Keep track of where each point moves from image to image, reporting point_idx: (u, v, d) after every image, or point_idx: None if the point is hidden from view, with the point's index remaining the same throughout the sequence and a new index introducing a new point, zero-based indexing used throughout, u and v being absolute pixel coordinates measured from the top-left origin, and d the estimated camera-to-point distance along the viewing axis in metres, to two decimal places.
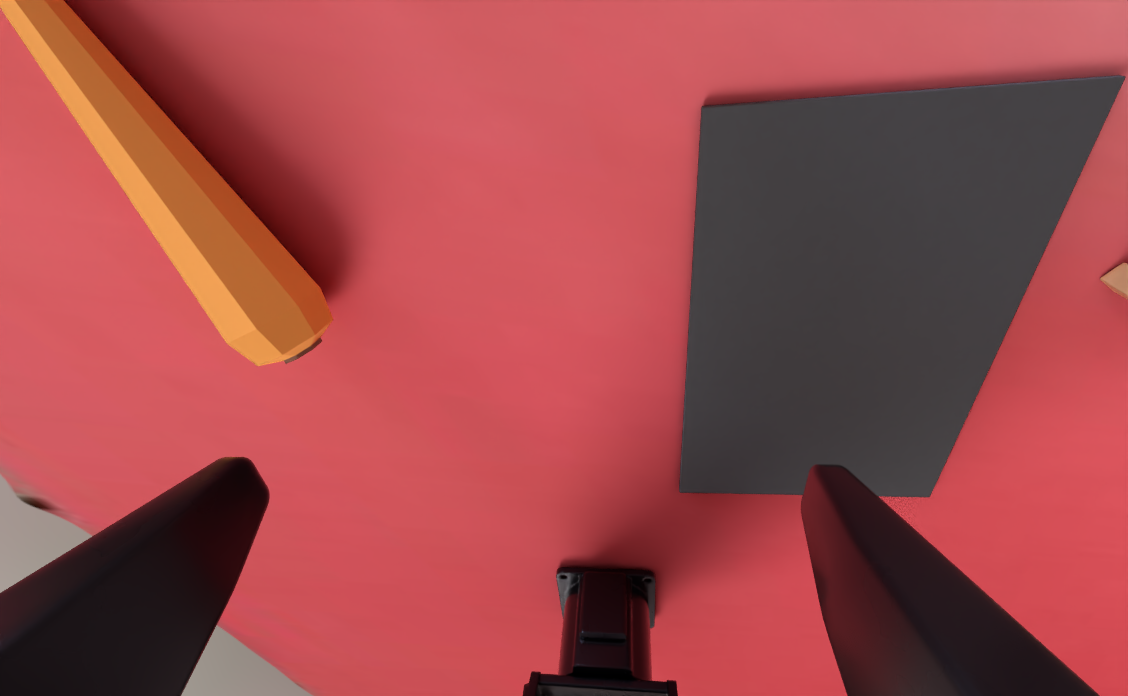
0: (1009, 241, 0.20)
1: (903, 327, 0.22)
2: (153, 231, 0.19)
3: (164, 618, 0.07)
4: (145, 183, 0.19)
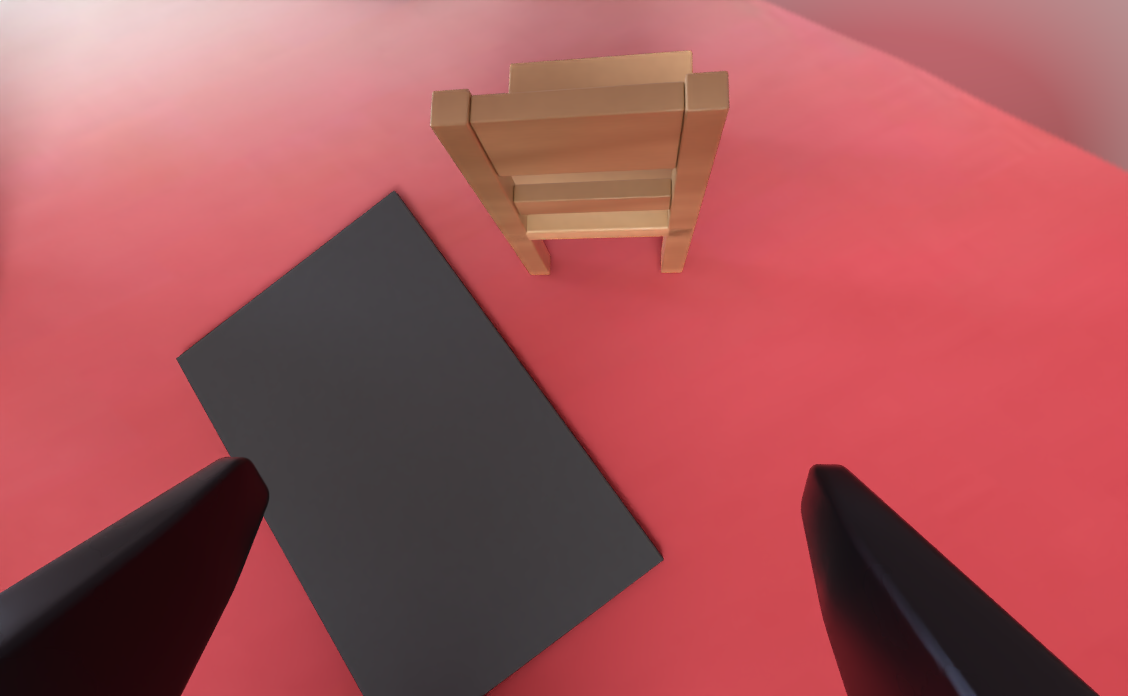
0: (433, 296, 0.23)
1: (430, 401, 0.22)
2: None
3: (164, 618, 0.07)
4: None
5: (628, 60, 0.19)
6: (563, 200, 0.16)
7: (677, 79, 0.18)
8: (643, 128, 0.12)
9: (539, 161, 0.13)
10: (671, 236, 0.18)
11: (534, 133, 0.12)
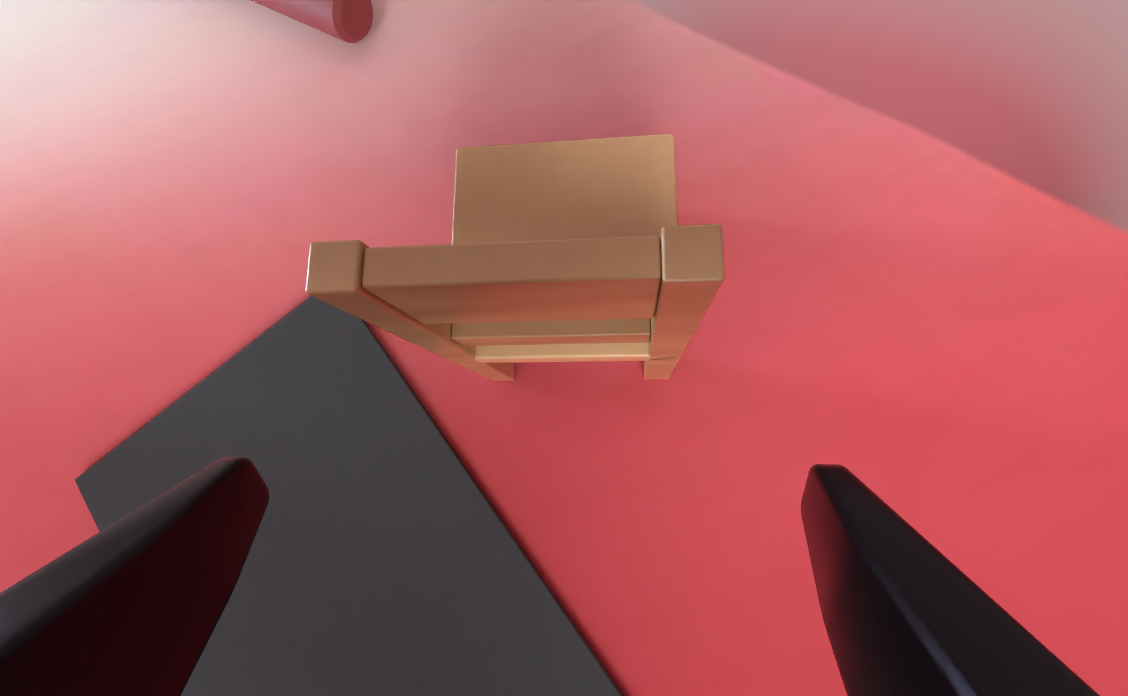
0: (377, 407, 0.20)
1: (372, 536, 0.19)
2: None
3: (164, 618, 0.07)
4: None
5: (597, 145, 0.15)
6: (514, 337, 0.12)
7: (657, 169, 0.15)
8: (605, 291, 0.08)
9: (471, 314, 0.10)
10: (654, 361, 0.15)
11: (455, 295, 0.09)
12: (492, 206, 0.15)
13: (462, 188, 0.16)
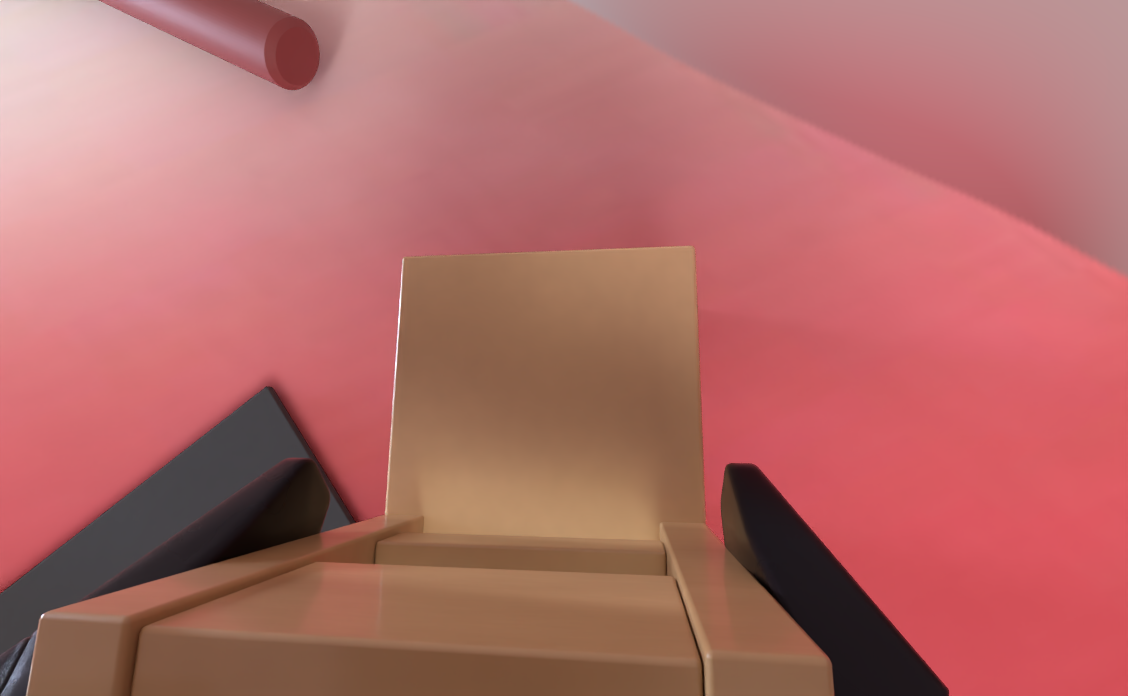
0: None
1: None
2: None
3: None
4: None
5: (591, 259, 0.11)
6: None
7: (672, 296, 0.11)
8: None
9: None
10: None
11: None
12: (448, 341, 0.11)
13: (409, 314, 0.12)
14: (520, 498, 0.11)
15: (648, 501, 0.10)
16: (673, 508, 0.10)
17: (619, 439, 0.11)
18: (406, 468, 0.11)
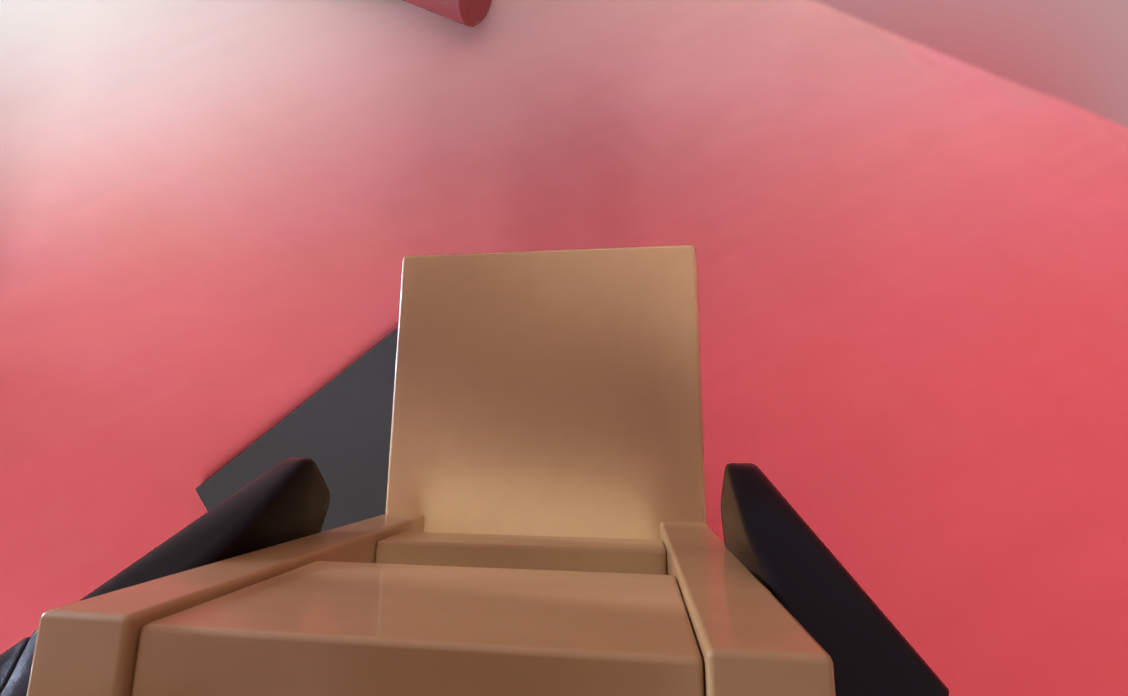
0: None
1: None
2: None
3: None
4: None
5: (591, 258, 0.11)
6: None
7: (672, 295, 0.11)
8: None
9: None
10: None
11: None
12: (449, 340, 0.11)
13: (409, 313, 0.12)
14: (520, 497, 0.11)
15: (648, 500, 0.10)
16: (673, 507, 0.10)
17: (619, 438, 0.11)
18: (406, 467, 0.11)
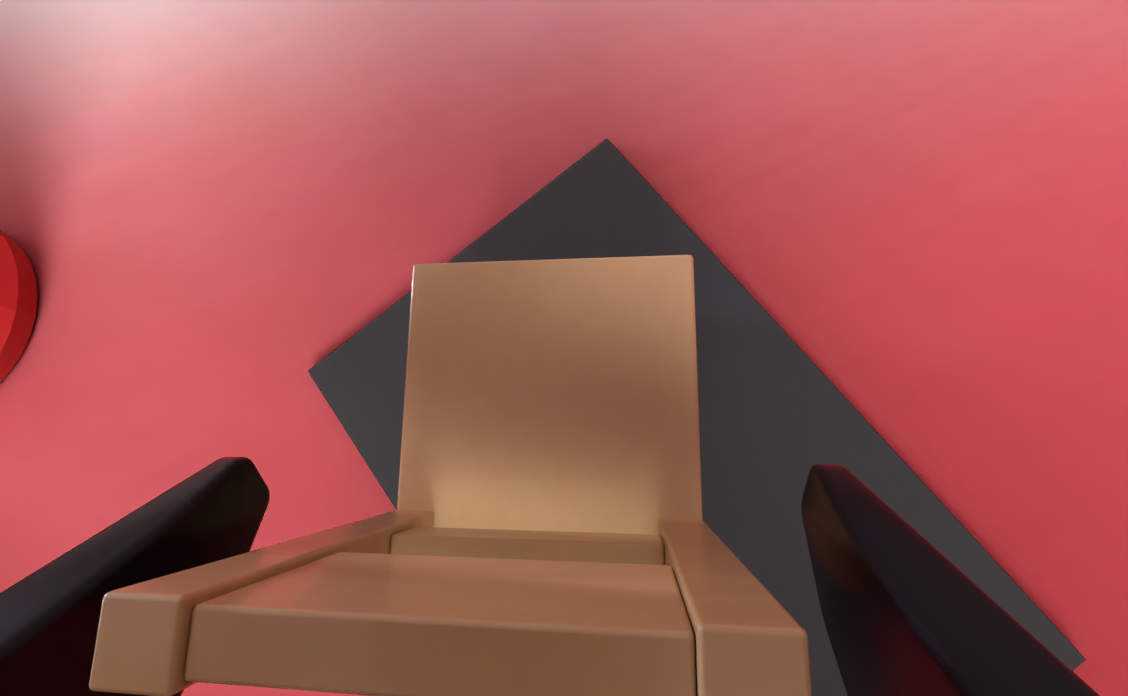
0: None
1: None
2: None
3: None
4: None
5: (593, 267, 0.12)
6: None
7: (670, 302, 0.11)
8: None
9: None
10: None
11: None
12: (457, 345, 0.12)
13: (419, 319, 0.12)
14: (526, 495, 0.11)
15: (647, 498, 0.11)
16: (671, 505, 0.11)
17: (620, 438, 0.11)
18: (417, 466, 0.12)
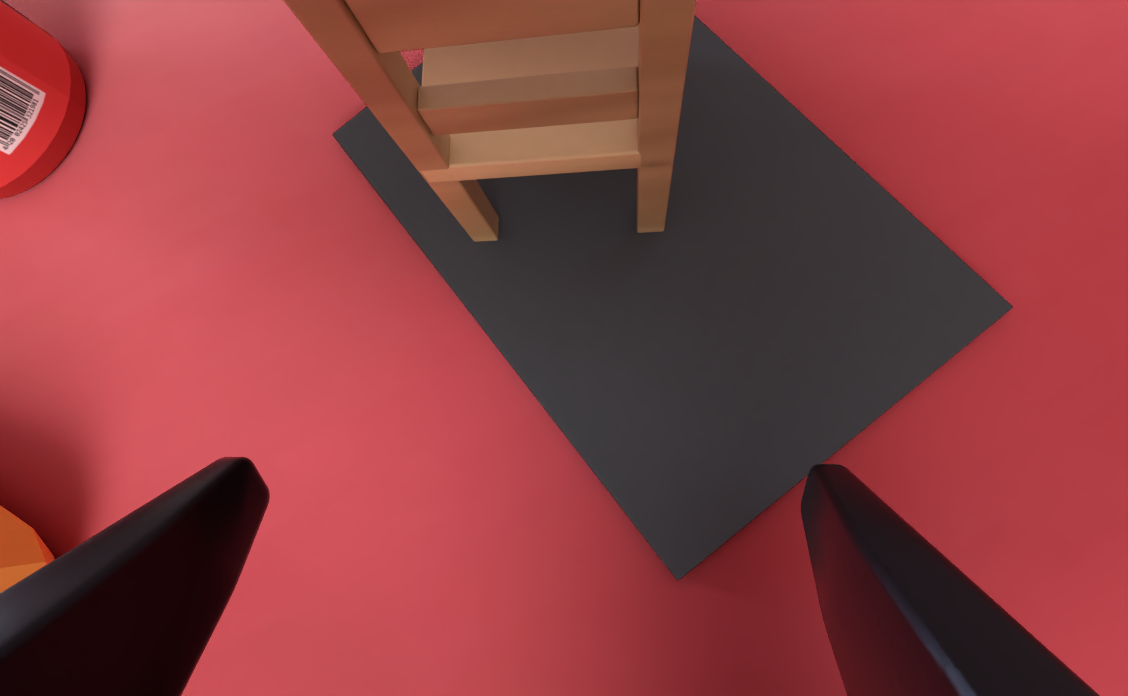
0: None
1: None
2: None
3: (164, 618, 0.07)
4: None
5: None
6: (486, 104, 0.11)
7: None
8: None
9: (429, 15, 0.09)
10: (644, 168, 0.13)
11: None
12: None
13: None
14: None
15: None
16: None
17: (605, 65, 0.13)
18: None
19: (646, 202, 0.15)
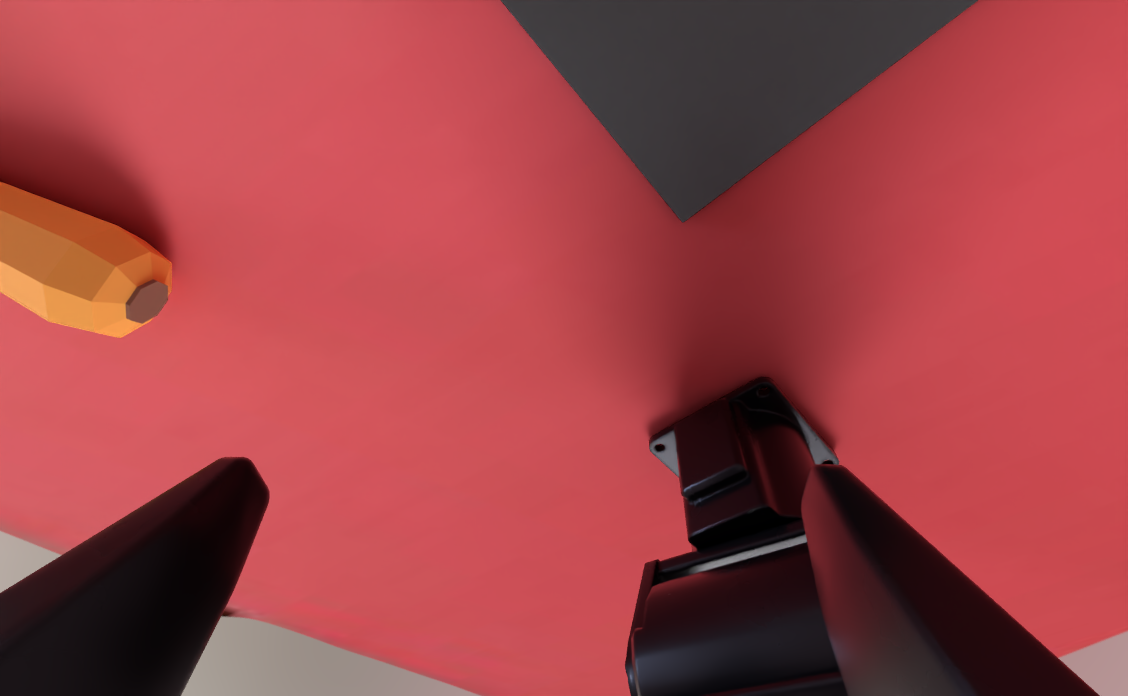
0: None
1: None
2: None
3: (164, 618, 0.07)
4: None
5: None
6: None
7: None
8: None
9: None
10: None
11: None
12: None
13: None
14: None
15: None
16: None
17: None
18: None
19: None
